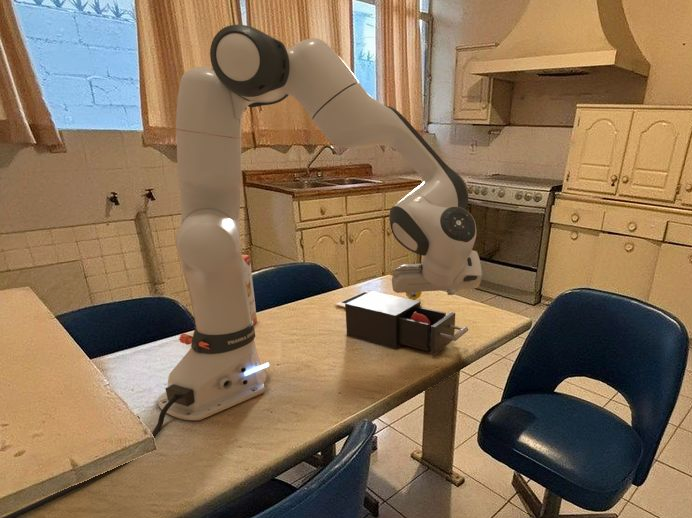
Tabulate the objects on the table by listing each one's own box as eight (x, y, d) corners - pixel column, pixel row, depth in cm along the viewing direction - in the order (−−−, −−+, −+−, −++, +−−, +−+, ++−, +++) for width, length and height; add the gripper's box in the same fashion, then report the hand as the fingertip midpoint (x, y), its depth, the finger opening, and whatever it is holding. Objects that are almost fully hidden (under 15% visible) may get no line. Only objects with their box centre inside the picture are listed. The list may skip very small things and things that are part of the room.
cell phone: (335, 305, 150) (335, 303, 149) (366, 292, 162) (366, 290, 162) (353, 310, 146) (353, 308, 145) (383, 296, 158) (383, 294, 158)
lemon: (424, 301, 155) (425, 278, 152) (413, 305, 151) (413, 282, 148) (413, 297, 159) (413, 275, 156) (401, 300, 155) (401, 278, 152)
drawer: (470, 343, 122) (472, 316, 119) (451, 360, 113) (452, 331, 110) (406, 327, 132) (406, 302, 129) (383, 341, 123) (383, 314, 120)
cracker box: (241, 341, 123) (230, 267, 116) (219, 341, 123) (206, 267, 116) (259, 321, 136) (250, 253, 129) (239, 321, 136) (229, 253, 129)
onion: (409, 343, 121) (400, 318, 118) (418, 331, 126) (409, 306, 122) (428, 343, 119) (419, 317, 115) (437, 330, 123) (428, 305, 119)
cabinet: (420, 332, 131) (420, 301, 127) (396, 349, 120) (395, 315, 117) (372, 320, 138) (372, 291, 135) (346, 335, 128) (345, 303, 125)
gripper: (395, 280, 95) (389, 307, 107) (489, 276, 98) (473, 302, 111) (392, 254, 97) (387, 283, 109) (483, 250, 101) (468, 279, 113)
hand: (431, 293), depth 110 cm, fingers open, 8 cm apart
